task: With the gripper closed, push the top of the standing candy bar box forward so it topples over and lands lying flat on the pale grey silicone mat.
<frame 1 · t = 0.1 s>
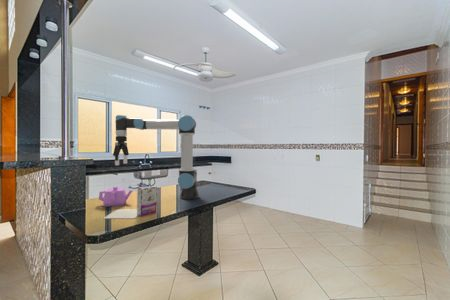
hand: (121, 164, 168), 28 cm above the counter, fingers open, 13 cm apart
teakettle: (116, 204, 162), on the counter
mat: (125, 214, 138), on the counter
candy bar box: (146, 214, 139), on the counter, touching mat
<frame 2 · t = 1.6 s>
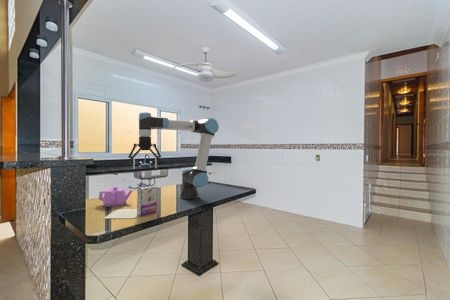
hand: (145, 168, 148), 27 cm above the counter, fingers open, 13 cm apart
nothing on the counter moved.
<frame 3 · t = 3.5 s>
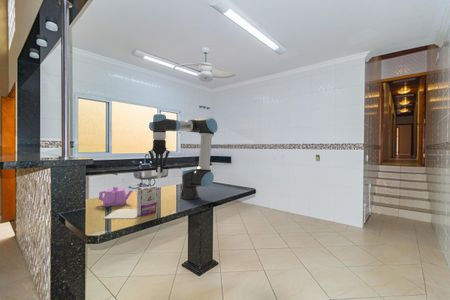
hand: (159, 177, 138), 23 cm above the counter, fingers closed
nothing on the counter moved.
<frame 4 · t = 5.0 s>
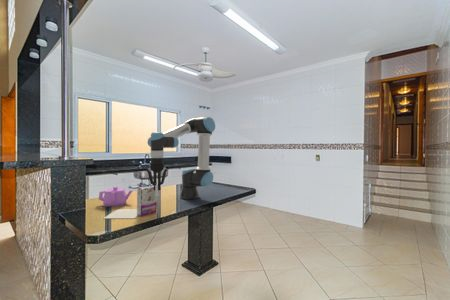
hand: (157, 195, 138), 11 cm above the counter, fingers closed
candy bar box: (146, 213, 139), on the counter, touching mat
everything else where it was.
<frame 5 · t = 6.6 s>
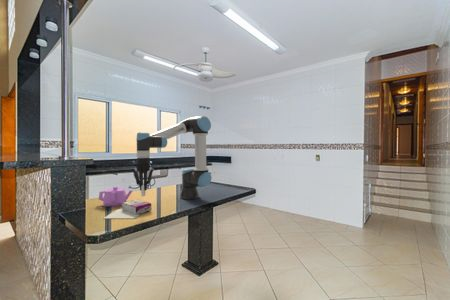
hand: (143, 195, 138), 11 cm above the counter, fingers closed
candy bar box: (144, 209, 139), point 3 cm above the counter, touching mat
everything else where it was.
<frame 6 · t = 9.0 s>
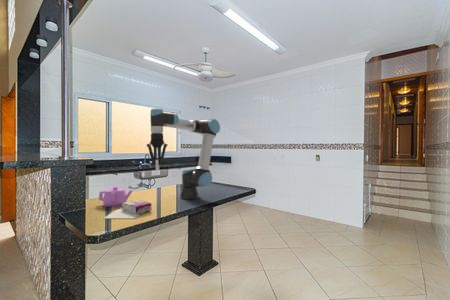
hand: (157, 170, 143), 27 cm above the counter, fingers closed
nothing on the counter moved.
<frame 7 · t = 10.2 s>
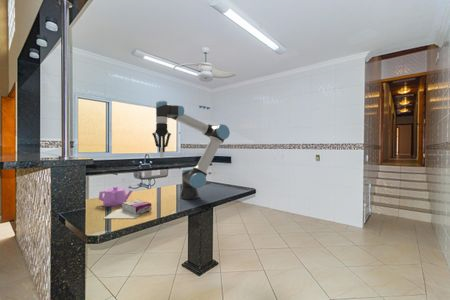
hand: (161, 156, 158), 34 cm above the counter, fingers closed
nothing on the counter moved.
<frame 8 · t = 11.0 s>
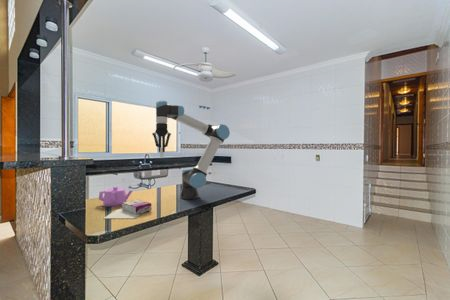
hand: (161, 156, 158), 34 cm above the counter, fingers closed
nothing on the counter moved.
at the end: candy bar box tilted 89°; candy bar box inside the target area (10.6 cm from its centre), point 2.8 cm above the counter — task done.
